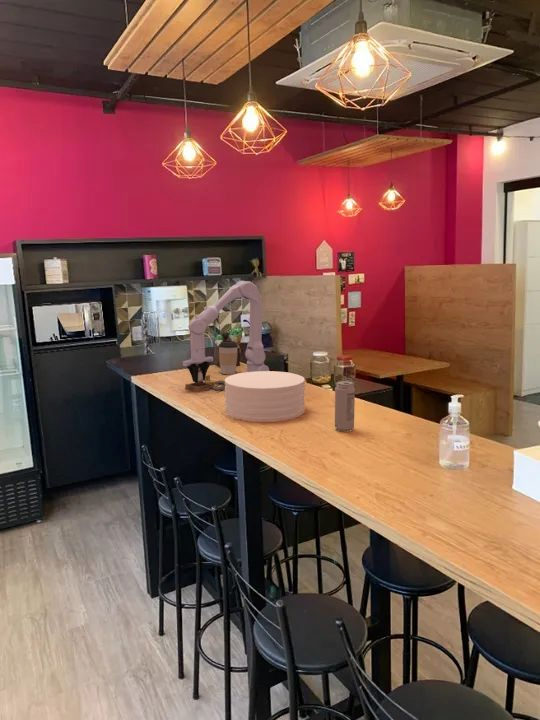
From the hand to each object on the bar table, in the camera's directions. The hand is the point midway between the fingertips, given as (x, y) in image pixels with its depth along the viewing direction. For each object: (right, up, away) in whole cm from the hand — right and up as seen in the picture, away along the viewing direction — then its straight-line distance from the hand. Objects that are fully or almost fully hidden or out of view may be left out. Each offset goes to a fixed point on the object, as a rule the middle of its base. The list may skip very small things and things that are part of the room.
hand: (198, 381), depth 229 cm
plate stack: (+28, -10, -32) cm, 43 cm away
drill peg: (0, -2, 0) cm, 2 cm away
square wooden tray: (0, -3, +1) cm, 3 cm away
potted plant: (+8, +5, +50) cm, 51 cm away
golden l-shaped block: (+4, -2, +8) cm, 9 cm away
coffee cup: (+10, +2, +32) cm, 34 cm away
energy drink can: (+53, -13, -55) cm, 77 cm away
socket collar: (+8, -3, +5) cm, 10 cm away
